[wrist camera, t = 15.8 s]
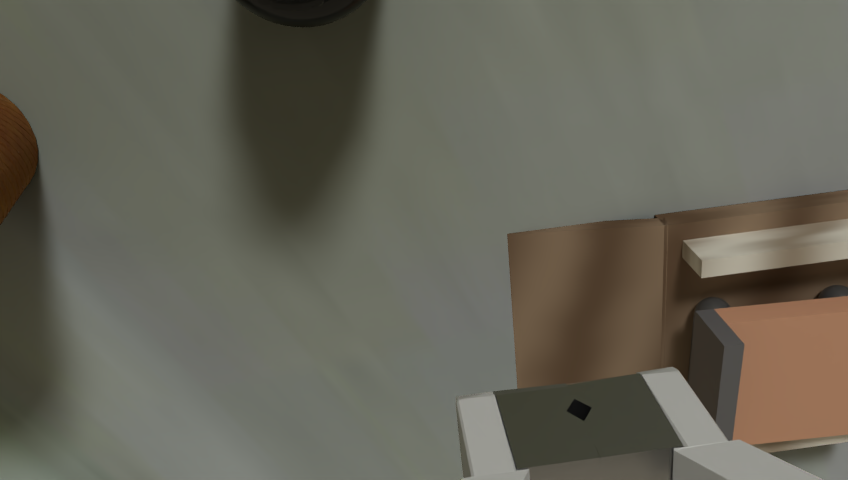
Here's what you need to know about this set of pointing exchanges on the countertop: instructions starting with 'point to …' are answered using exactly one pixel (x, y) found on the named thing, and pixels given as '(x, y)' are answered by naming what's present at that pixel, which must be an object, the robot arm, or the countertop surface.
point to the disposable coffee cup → (14, 155)
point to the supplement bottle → (301, 11)
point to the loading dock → (664, 284)
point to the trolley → (773, 367)
